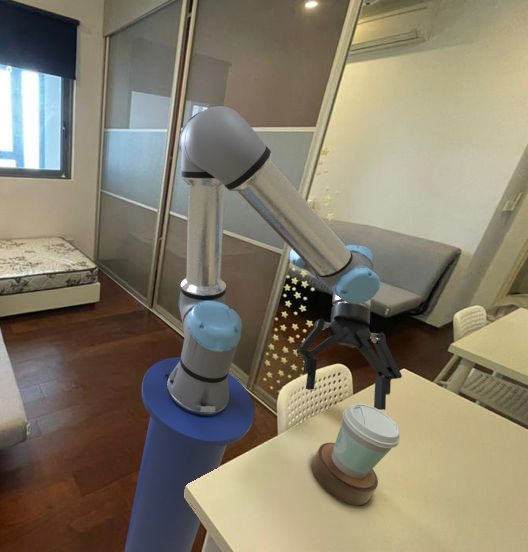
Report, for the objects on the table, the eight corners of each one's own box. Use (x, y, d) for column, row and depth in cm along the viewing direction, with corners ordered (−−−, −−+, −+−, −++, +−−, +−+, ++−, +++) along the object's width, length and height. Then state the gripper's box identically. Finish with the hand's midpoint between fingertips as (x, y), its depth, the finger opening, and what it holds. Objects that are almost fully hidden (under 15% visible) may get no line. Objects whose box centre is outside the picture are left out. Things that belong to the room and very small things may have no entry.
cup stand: (304, 474, 63) (311, 459, 62) (321, 447, 70) (328, 433, 68) (361, 517, 57) (371, 502, 55) (374, 482, 64) (383, 468, 62)
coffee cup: (337, 438, 67) (360, 395, 62) (382, 473, 61) (412, 428, 56) (314, 454, 63) (337, 409, 58) (361, 494, 56) (391, 447, 51)
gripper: (400, 324, 76) (399, 417, 69) (289, 299, 82) (277, 382, 75) (422, 316, 69) (423, 418, 62) (299, 289, 75) (287, 379, 68)
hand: (343, 399), depth 69 cm, fingers open, 13 cm apart
